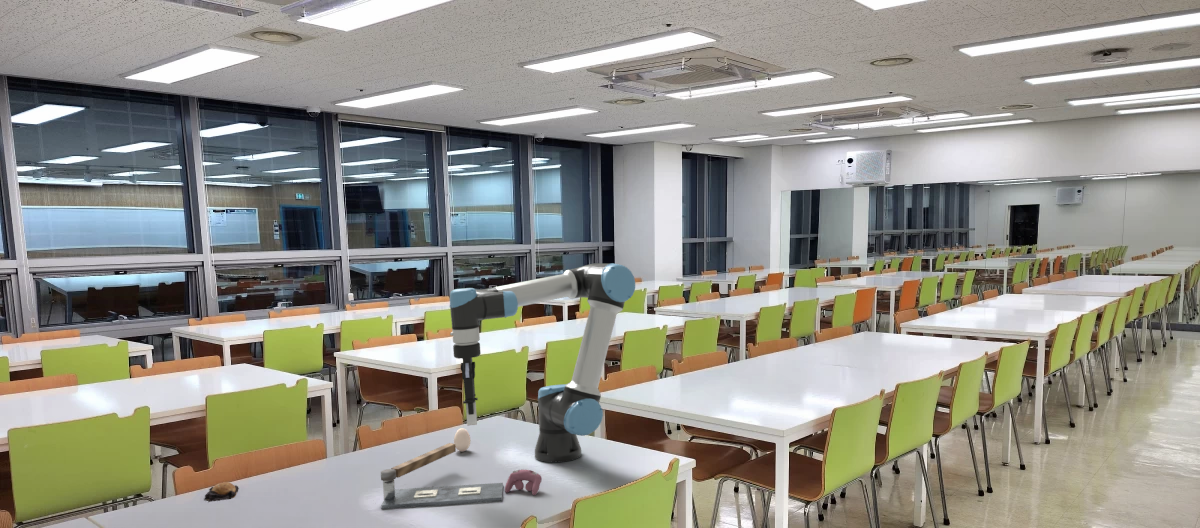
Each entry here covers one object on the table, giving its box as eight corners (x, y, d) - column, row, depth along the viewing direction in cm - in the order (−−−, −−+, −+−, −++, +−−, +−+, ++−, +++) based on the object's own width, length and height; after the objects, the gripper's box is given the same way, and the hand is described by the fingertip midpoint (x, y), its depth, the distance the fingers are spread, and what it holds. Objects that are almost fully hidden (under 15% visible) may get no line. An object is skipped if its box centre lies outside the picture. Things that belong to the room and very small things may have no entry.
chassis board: (503, 486, 210) (502, 467, 210) (501, 501, 198) (501, 481, 198) (388, 493, 207) (387, 474, 207) (379, 509, 195) (378, 488, 195)
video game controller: (541, 497, 205) (544, 471, 207) (535, 495, 201) (538, 469, 203) (509, 494, 208) (513, 469, 210) (502, 492, 204) (506, 466, 207)
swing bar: (389, 483, 198) (388, 474, 198) (377, 481, 200) (377, 472, 200) (457, 451, 226) (457, 444, 225) (447, 450, 227) (447, 442, 227)
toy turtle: (208, 492, 214) (207, 480, 214) (239, 488, 217) (239, 476, 217) (203, 504, 204) (202, 491, 204) (236, 499, 207) (236, 486, 207)
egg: (462, 448, 250) (462, 425, 249) (474, 450, 246) (473, 427, 246) (450, 452, 245) (450, 429, 245) (462, 454, 242) (461, 431, 242)
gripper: (454, 340, 213) (460, 419, 214) (451, 347, 200) (457, 432, 201) (480, 338, 214) (486, 417, 215) (478, 345, 201) (484, 429, 202)
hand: (472, 424), depth 208 cm, fingers closed
